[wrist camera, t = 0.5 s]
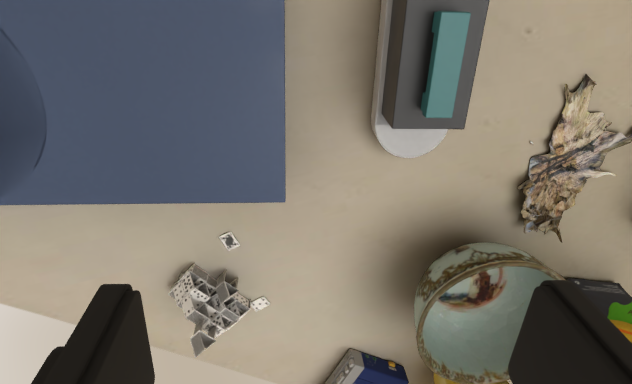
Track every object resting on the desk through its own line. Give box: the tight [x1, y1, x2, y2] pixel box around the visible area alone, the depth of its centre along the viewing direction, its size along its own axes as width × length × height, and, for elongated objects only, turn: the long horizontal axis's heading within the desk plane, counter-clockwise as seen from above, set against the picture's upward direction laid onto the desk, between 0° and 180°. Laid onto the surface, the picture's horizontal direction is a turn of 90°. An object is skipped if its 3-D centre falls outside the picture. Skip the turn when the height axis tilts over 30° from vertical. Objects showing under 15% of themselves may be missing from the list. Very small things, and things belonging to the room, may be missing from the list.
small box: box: [567, 278, 632, 317], centre depth 42 cm, size 11×6×10 cm, turn 170°
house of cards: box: [168, 232, 271, 358], centre depth 38 cm, size 9×9×8 cm
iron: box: [371, 0, 489, 158], centre depth 30 cm, size 14×6×7 cm, turn 178°
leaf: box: [517, 74, 632, 242], centre depth 37 cm, size 11×15×2 cm
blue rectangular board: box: [0, 0, 285, 205], centre depth 30 cm, size 16×32×4 cm, turn 88°
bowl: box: [414, 242, 565, 384], centre depth 39 cm, size 14×13×8 cm
